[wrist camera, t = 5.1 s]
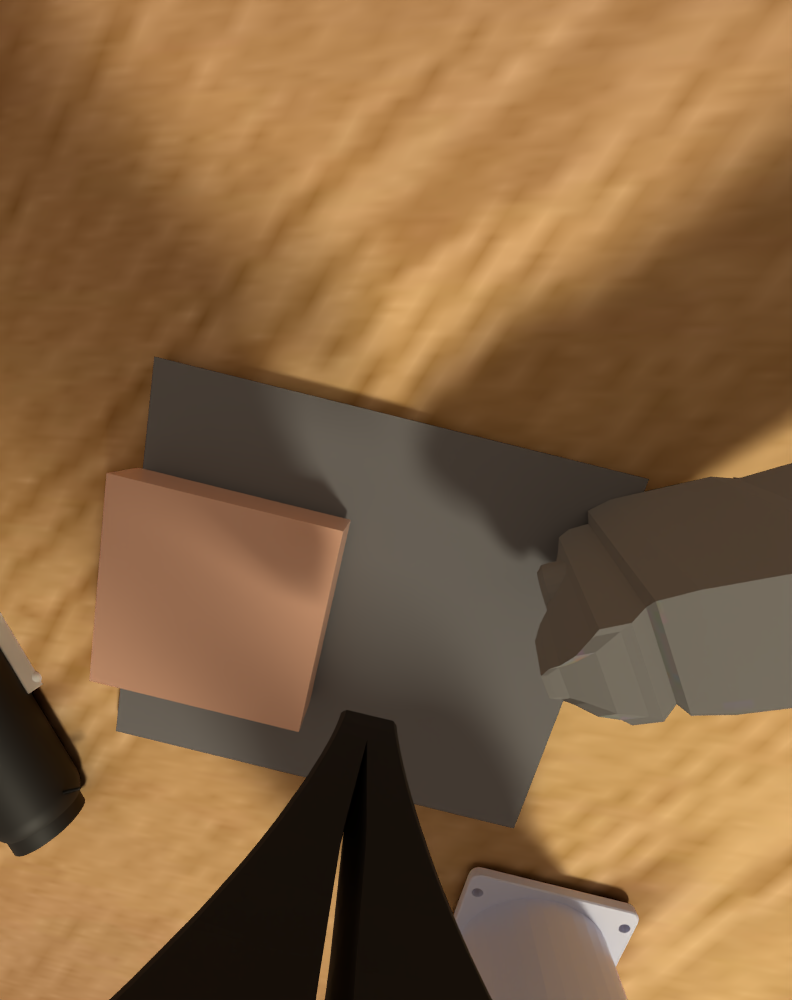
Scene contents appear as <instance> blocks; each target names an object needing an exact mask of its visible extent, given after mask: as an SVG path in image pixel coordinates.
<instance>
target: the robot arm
mask: <svg viewBox="0 0 792 1000" xmlns="http://www.w3.org/2000/svg"><path fill="white" fill-rule="evenodd" d="M343 832H344V834H343ZM342 836H343V843H342V852H341V862H340V871H339V880H338V890H337V899H336V909H335V918H334V928H333V937H332V947H331V956H330V965H329V973H328V980H327V988H326V995H325V1000H628V999H627V996H626V994H625V991H624V988H623V986H622V983H621V980H620V978H619V975H618V972H617V969H616V965H617V963H618V961H619V959H620V957H621V955H622V953H623V951H624V949H625V947H626V945H627V943H628V941H629V939H630V937H631V935H632V934H633V932H634V930H635V928H636V926H637V924H638V921H639V918H638V915H637V913H636V910H635V908H634V907H633V906H632V905H631V904H628V903H625V902H621V901H617V900H613V899H609V898H605V897H601V896H597V895H592V894H588V893H584V892H580V891H576V890H572V889H568V888H564V887H560V886H556V885H552V884H548V883H543V882H539V881H535V880H531V879H527V878H523V877H519V876H515V875H511V874H507V873H503V872H499V871H494V870H490V869H486V868H482V867H476V868H473V869H472V870H471V871H470V872H469V874H468V877H467V880H466V882H465V885H464V888H463V891H462V893H461V896H460V899H459V901H458V904H457V907H456V910H455V912H454V915H453V913H452V911H451V908H450V906H449V903H448V901H447V898H446V896H445V893H444V891H443V888H442V886H441V883H440V880H439V878H438V875H437V873H436V870H435V867H434V864H433V862H432V859H431V856H430V853H429V850H428V847H427V844H426V841H425V838H424V835H423V832H422V829H421V826H420V823H419V820H418V817H417V813H416V810H415V806H414V803H413V799H412V796H411V792H410V789H409V785H408V781H407V777H406V773H405V769H404V765H403V760H402V756H401V751H400V745H399V740H398V733H397V726H396V724H395V722H394V721H392V720H388V719H384V718H379V717H375V716H371V715H367V714H363V713H359V712H354V711H350V710H345V711H343V712H341V714H340V717H339V720H338V723H337V725H336V727H335V729H334V731H333V733H332V735H331V737H330V739H329V741H328V743H327V744H326V746H325V748H324V750H323V752H322V753H321V755H320V757H319V758H318V760H317V761H316V763H315V764H314V766H313V768H312V769H311V771H310V772H309V774H308V775H307V777H306V779H305V780H304V782H303V783H302V785H301V786H300V787H299V789H298V790H297V792H296V793H295V794H294V796H293V797H292V799H291V800H290V801H289V803H288V804H287V806H286V807H285V808H284V810H283V811H282V812H281V814H280V815H279V817H278V818H277V819H276V821H275V822H274V823H273V824H272V826H271V827H270V828H269V830H268V831H267V832H266V833H265V835H264V836H263V837H262V838H261V840H260V841H259V842H258V843H257V845H256V846H255V847H254V848H253V849H252V851H251V852H250V853H249V854H248V855H247V857H246V858H245V859H244V860H243V861H242V863H241V864H240V865H239V866H238V867H237V868H236V870H235V871H234V872H233V873H232V874H231V875H230V876H229V877H228V879H227V880H226V881H225V882H224V883H223V884H222V885H221V886H220V888H219V889H218V890H217V891H216V892H215V893H214V894H213V895H212V897H211V898H210V899H209V900H208V901H207V902H206V903H205V904H204V905H203V906H202V907H201V909H200V910H199V911H198V912H197V913H196V914H195V915H194V916H193V917H192V918H191V919H190V920H189V921H188V922H187V923H186V924H185V925H184V926H183V927H182V928H181V929H180V930H179V931H178V932H177V933H176V934H175V935H174V936H173V937H172V938H171V939H170V940H169V942H168V943H167V944H166V945H165V946H164V947H163V948H162V949H161V950H160V951H159V952H158V953H157V954H156V955H155V956H154V957H153V958H152V959H151V960H150V961H149V962H148V963H147V964H146V965H145V966H144V967H143V968H142V969H141V970H140V971H139V972H138V973H137V974H136V975H135V976H134V977H133V978H132V979H131V980H130V981H129V982H128V983H126V984H125V985H124V986H123V987H122V988H121V989H120V990H119V991H118V992H117V993H116V994H115V995H114V996H113V997H112V998H111V999H110V1000H316V994H317V988H318V981H319V975H320V968H321V961H322V955H323V949H324V942H325V936H326V930H327V924H328V917H329V911H330V905H331V898H332V892H333V886H334V880H335V874H336V868H337V862H338V855H339V849H340V844H341V840H342Z"/></svg>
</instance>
